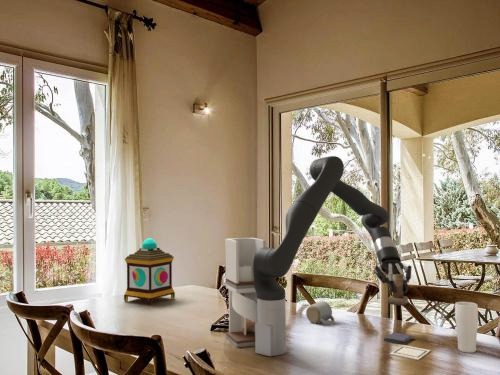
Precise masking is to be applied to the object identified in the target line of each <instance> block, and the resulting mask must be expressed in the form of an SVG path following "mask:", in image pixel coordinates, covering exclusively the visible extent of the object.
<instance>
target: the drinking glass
mask: <svg viewBox="0 0 500 375" xmlns="http://www.w3.org/2000/svg"><path fill="white" fill-rule="evenodd" d="M478 306H479V305H478V303H475V302H470V301H456V302H455V304H454V317H455V319H454V320H455V328H456V329H455V330H456V336H457V338H456V339H457V350H459V352H462V353H466V352H467V353H468V354H472V353H475V352H476V351H477V337H478V327H479V326H478V323H479V307H478ZM467 353H466V354H467Z"/></svg>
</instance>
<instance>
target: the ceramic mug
mask: <svg viewBox="0 0 500 375" xmlns="http://www.w3.org/2000/svg"><path fill="white" fill-rule="evenodd" d="M332 310H333V309H332V307H331V305H330V304H329V303H328V301H327V302H326V301H324V300H321V301H318V302H315V303H313V304H310V305H309V306H308V307H307V308H306V312H305V314H306V318H307V320H308V321H309V322H310V323H312V324H318V323H322V324H324V325H327V326H332V325H334V323H335V318H334V316H333V311H332ZM329 320H331V321H329Z"/></svg>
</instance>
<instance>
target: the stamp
mask: <svg viewBox="0 0 500 375" xmlns="http://www.w3.org/2000/svg"><path fill="white" fill-rule="evenodd" d="M392 281H393V282H394V285H395V287H396V292H395V293H392V295H391V296H389V297H387V298H388V301H387V304H389V305H394V306H400V307H403V306H405V305H407V304H409V296H405V295H404V291H403V274H392Z"/></svg>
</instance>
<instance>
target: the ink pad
mask: <svg viewBox="0 0 500 375" xmlns="http://www.w3.org/2000/svg"><path fill="white" fill-rule="evenodd" d="M414 338H415V337H414V335H412V334H404V333H399V332H392V333H390V334H389V335H387V336H386V337H383V342H386V343H387V342H388V343H392V342H393V343H394V344H397V345H402V346H403V345H406V344H407V343H409V342H411V341H412V340H414Z"/></svg>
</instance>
